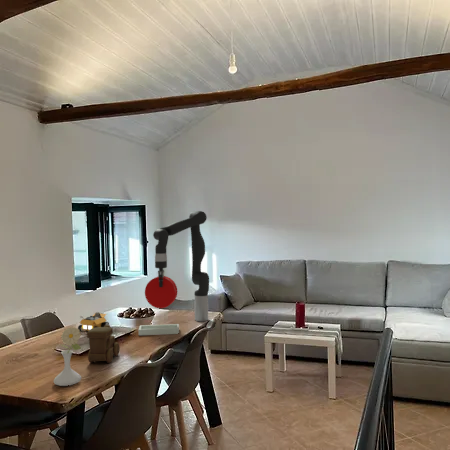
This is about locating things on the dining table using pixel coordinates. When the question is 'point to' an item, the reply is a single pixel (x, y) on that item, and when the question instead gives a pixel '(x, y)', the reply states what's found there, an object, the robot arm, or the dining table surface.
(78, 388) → the dining table surface
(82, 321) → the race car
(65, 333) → the flower in vase
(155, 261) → the robot arm
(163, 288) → the toy clock
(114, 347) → the wooden toy train
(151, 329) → the tray
